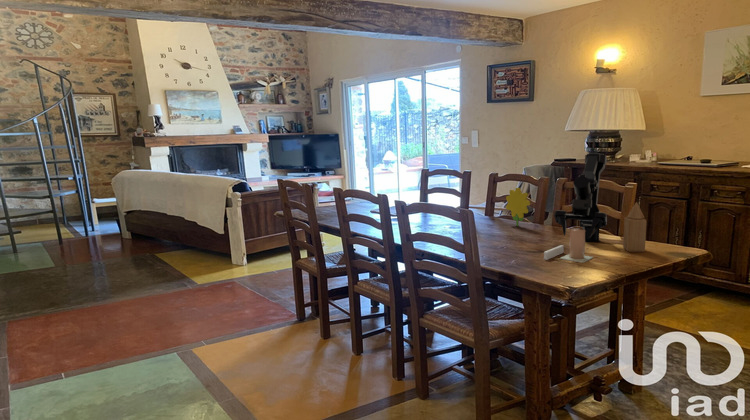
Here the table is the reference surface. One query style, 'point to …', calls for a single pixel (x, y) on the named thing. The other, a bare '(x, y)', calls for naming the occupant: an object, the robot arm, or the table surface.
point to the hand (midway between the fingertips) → (576, 235)
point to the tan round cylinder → (577, 243)
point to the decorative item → (517, 204)
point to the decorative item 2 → (634, 230)
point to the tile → (577, 259)
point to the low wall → (553, 252)
